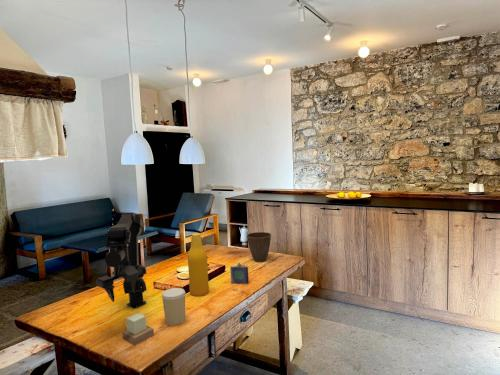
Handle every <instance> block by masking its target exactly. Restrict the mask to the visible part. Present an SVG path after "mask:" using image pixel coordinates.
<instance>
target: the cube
mask: <svg viewBox="0 0 500 375" xmlns="http://www.w3.org/2000/svg"><path fill="white" fill-rule="evenodd" d="M125 320H126V330H127V331H129V332H131V333H133V334H137V333H139V332H141V331H143V330H145V329H147V326H148V325H147V317H146V315H145V314H143V313H140V312H136V313H134V314H132V315H129V316H127V317H126V318H125ZM146 325H147V326H146Z"/></svg>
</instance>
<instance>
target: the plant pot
mask: <svg viewBox="0 0 500 375" xmlns="http://www.w3.org/2000/svg"><path fill="white" fill-rule="evenodd" d="M271 238H272V234H271V233H270V232H267V231H266V232H265V231H262V232H261V231H257V232H251V233H248V234H247V235H246V239H247V244H248V248H249V251H250V253H251V256H252V259H253V261H254V262H256V263H263V262H265V261H267V258H268V255H269V251H270V248H271V247H270V246H271V240H272V239H271Z"/></svg>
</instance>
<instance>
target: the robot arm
mask: <svg viewBox="0 0 500 375" xmlns="http://www.w3.org/2000/svg"><path fill="white" fill-rule="evenodd" d="M143 226H144V221H143V219H142V217H141V216H138V215H137V214H136V213H135V212H131V211H130V212H123V213H122V214H121V217H120V219H119V221H118V222H117V224H116V225H115V224H114V225H112V226H110V228H109V229H108V231H107V232H106V233H107V234H106V242H105V248H106V249H108V248H109V251H108V252H107V254H106V255H105V257H104V262H105V264H106V265H107V266H108V267H110V268H113V271H112V272H111V274H112V276H108V275H104V276H101V277H97V279H96V280H95V286H96V287H98V288H101V289H103V290H104V291H105V292H106V294H107V295H108V296H109V298H110V300H111V301H112V302H113V303H114V302H115V293H114V292H115V291H114V288H115V285H114V282H116V281H119V280H122V279H124V280H123V284H122V287H123V291H124V294H125V295H126V294H128V299H129V300H128V303H126V306H128V307H130V308H132V309H137V308H139V307H140V306H143V305H145V304H147V301H146V300H145V301H144V295H143V294H144V292H146V291H147V284H146V282H145V280H144V278H143V277H145V276H144V275H146V274H147V268H146V267H145V266H142V265H141V264H139V237H140V235H141V234H142V229H143Z"/></svg>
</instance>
